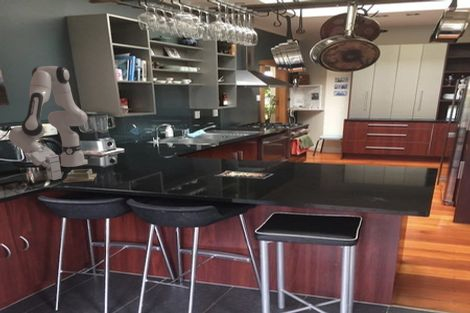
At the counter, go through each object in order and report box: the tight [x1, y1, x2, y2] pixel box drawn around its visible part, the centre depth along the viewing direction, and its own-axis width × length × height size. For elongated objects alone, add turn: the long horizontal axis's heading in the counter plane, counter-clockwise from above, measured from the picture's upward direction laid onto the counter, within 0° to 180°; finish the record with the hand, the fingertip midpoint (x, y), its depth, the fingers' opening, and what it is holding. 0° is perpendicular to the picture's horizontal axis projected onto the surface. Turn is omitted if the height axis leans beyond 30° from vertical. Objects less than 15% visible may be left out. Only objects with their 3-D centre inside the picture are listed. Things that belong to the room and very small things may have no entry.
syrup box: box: [45, 154, 63, 181], centre depth 196 cm, size 6×6×14 cm
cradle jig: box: [62, 168, 98, 184], centre depth 198 cm, size 14×16×4 cm
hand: (53, 165), depth 196 cm, fingers closed on syrup box, 8 cm apart
